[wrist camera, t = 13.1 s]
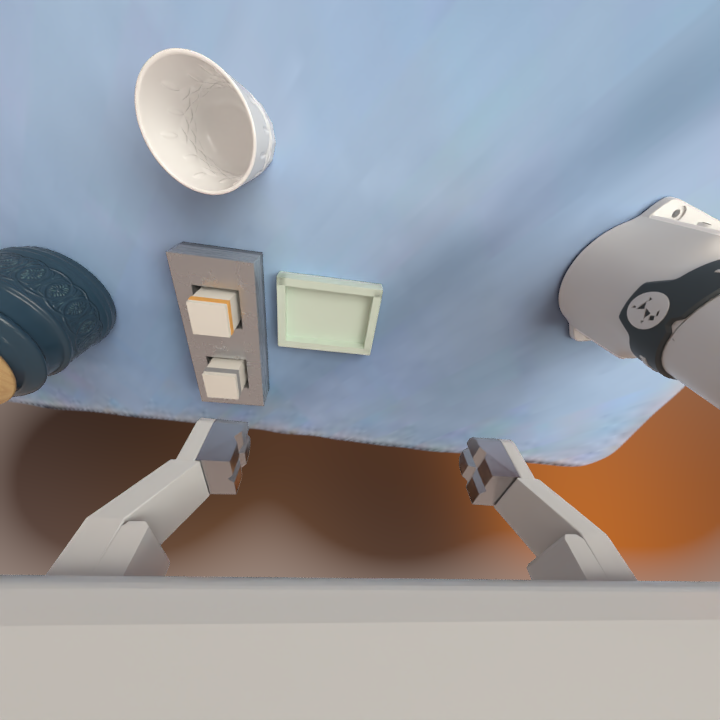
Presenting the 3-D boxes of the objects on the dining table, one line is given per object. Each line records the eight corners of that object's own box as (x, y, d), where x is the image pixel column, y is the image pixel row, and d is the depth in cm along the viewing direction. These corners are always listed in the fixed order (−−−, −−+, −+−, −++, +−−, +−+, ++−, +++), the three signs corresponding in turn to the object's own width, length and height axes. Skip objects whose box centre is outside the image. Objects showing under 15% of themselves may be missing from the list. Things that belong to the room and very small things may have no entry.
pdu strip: (262, 252, 35) (253, 263, 31) (269, 388, 47) (263, 405, 44) (183, 241, 34) (165, 251, 30) (212, 383, 46) (202, 401, 43)
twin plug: (248, 350, 42) (235, 376, 37) (250, 372, 44) (238, 399, 39) (218, 347, 41) (201, 373, 36) (222, 369, 44) (206, 397, 39)
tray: (381, 284, 37) (383, 290, 36) (368, 347, 43) (369, 355, 42) (279, 271, 36) (276, 276, 34) (280, 338, 42) (278, 346, 40)
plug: (242, 284, 36) (225, 305, 31) (244, 314, 38) (230, 338, 33) (207, 280, 35) (185, 301, 31) (212, 310, 38) (192, 334, 33)
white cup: (226, 193, 31) (183, 208, 23) (179, 97, 26) (105, 75, 18) (294, 168, 30) (275, 175, 22) (258, 65, 25) (216, 25, 17)
